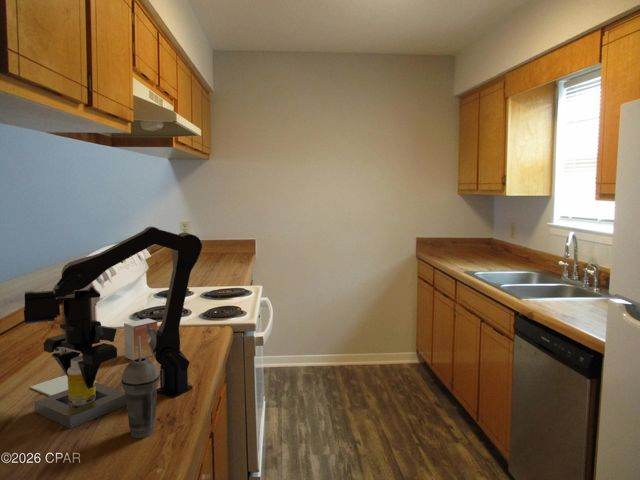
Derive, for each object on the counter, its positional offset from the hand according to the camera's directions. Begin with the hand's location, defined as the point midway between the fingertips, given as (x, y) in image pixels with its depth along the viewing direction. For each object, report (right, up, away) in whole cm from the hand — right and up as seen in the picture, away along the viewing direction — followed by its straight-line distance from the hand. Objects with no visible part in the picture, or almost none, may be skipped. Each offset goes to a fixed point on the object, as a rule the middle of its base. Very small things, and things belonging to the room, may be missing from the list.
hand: (81, 384), depth 110 cm
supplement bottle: (0, -4, 0) cm, 4 cm away
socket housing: (0, -5, 0) cm, 5 cm away
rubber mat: (-11, -4, +13) cm, 18 cm away
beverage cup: (+18, -7, -11) cm, 22 cm away
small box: (+1, -2, +35) cm, 35 cm away
